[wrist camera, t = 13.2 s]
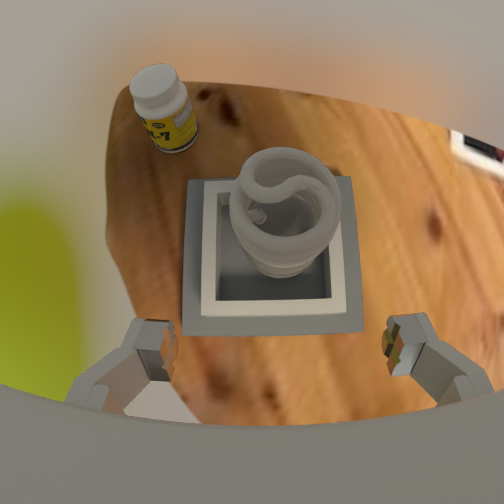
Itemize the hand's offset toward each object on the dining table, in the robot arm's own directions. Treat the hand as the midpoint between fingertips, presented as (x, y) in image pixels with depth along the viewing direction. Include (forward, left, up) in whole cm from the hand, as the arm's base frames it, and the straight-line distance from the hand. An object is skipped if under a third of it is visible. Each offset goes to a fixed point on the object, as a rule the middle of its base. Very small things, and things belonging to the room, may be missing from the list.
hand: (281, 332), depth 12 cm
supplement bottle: (+9, -19, -14) cm, 25 cm away
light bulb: (0, -6, -13) cm, 14 cm away
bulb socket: (0, -6, -14) cm, 15 cm away
